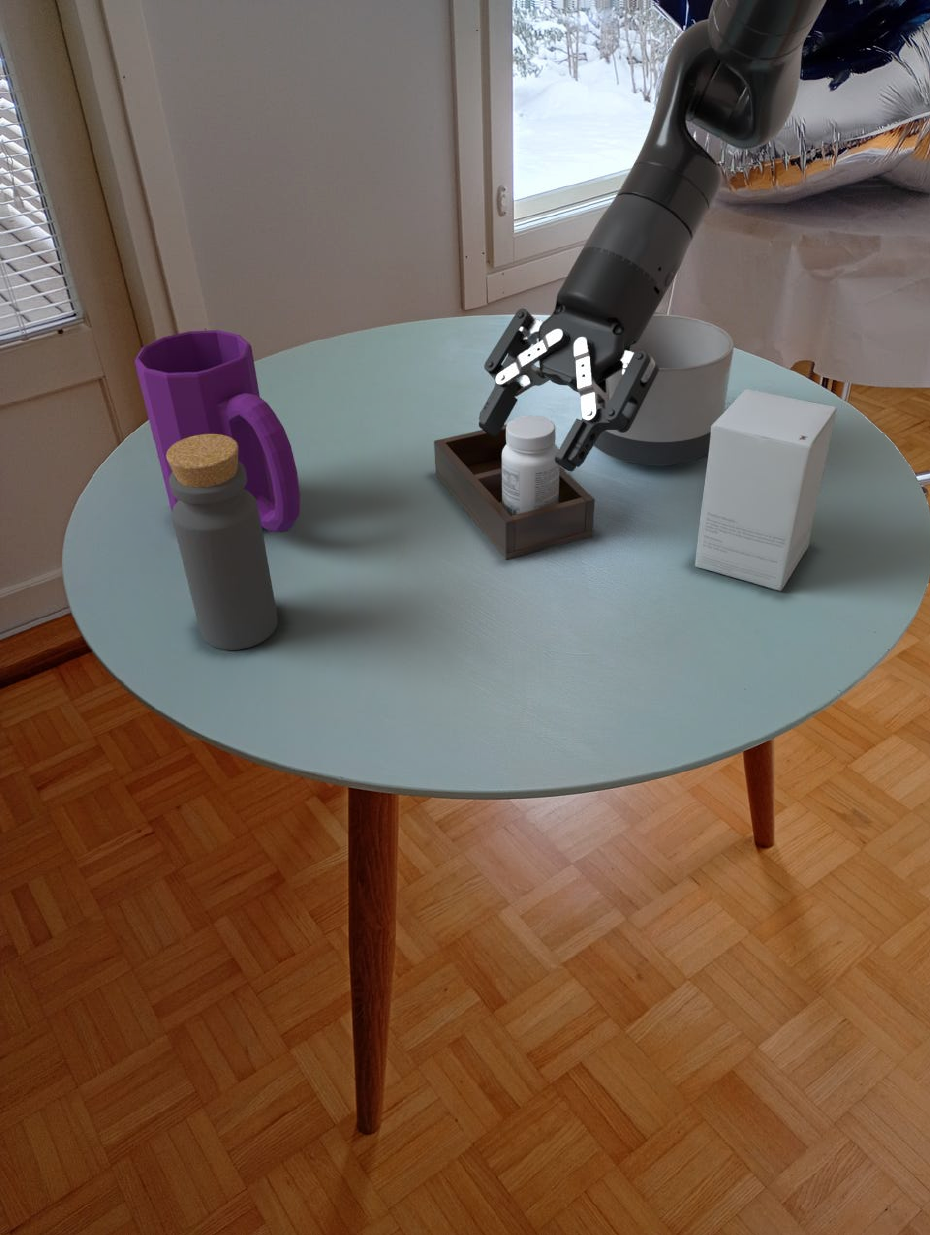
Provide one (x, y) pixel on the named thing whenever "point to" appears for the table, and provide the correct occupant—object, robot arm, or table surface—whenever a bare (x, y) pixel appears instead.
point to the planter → (675, 393)
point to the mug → (219, 414)
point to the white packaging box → (762, 486)
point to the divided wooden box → (477, 487)
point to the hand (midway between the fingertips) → (523, 449)
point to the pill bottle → (529, 465)
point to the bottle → (221, 542)
